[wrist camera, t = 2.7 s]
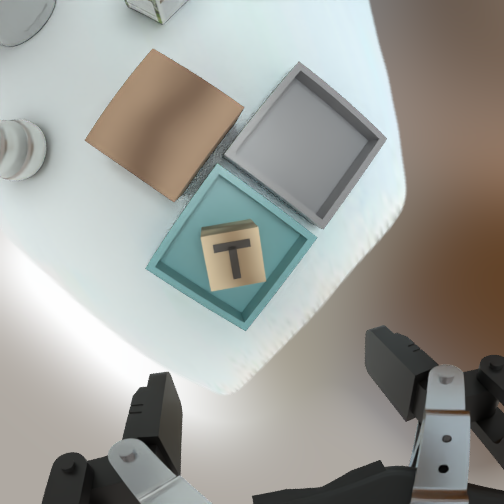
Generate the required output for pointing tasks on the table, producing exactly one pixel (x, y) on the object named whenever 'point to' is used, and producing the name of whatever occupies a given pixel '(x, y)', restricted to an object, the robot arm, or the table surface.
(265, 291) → the teal bin
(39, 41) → the table surface
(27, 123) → the plastic bottle
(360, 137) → the gray bin
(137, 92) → the walnut stand
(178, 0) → the syrup box
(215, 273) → the letter cube
